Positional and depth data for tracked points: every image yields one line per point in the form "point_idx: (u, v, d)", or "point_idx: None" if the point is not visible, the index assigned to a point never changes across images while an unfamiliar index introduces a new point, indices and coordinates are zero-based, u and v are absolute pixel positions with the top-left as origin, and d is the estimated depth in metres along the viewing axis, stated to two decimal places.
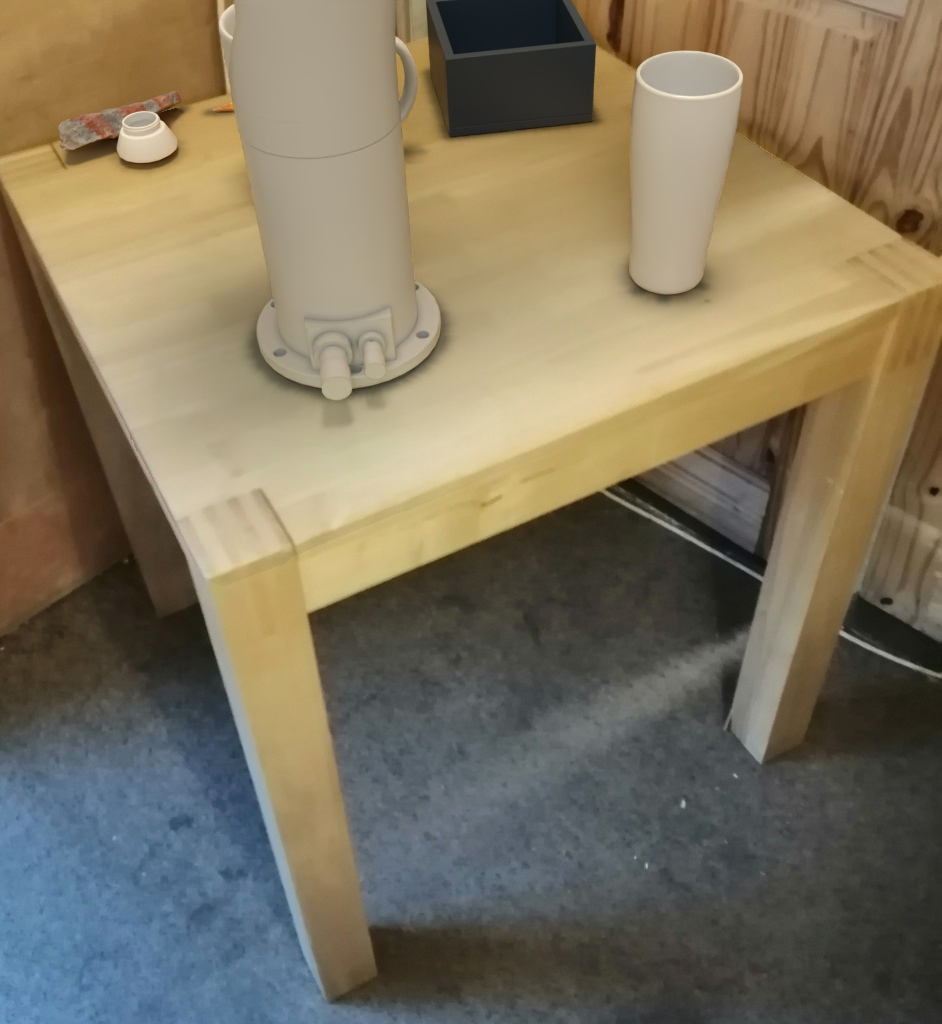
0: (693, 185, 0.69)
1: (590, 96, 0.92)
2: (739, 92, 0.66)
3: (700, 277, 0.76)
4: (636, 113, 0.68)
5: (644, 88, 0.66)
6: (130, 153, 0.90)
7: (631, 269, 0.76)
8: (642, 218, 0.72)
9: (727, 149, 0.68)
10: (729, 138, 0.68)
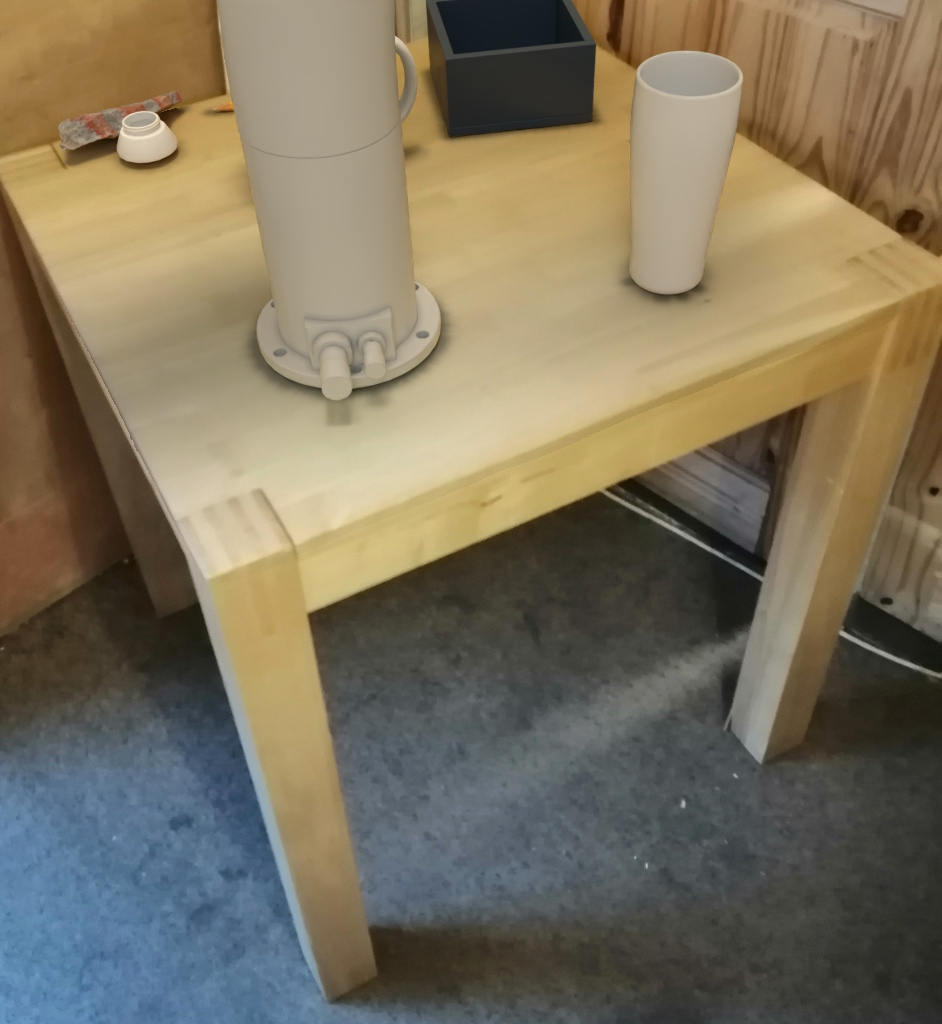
0: (693, 185, 0.69)
1: (590, 96, 0.92)
2: (739, 92, 0.66)
3: (700, 277, 0.76)
4: (636, 113, 0.68)
5: (644, 88, 0.66)
6: (130, 153, 0.90)
7: (631, 269, 0.76)
8: (642, 218, 0.72)
9: (727, 149, 0.68)
10: (729, 138, 0.68)
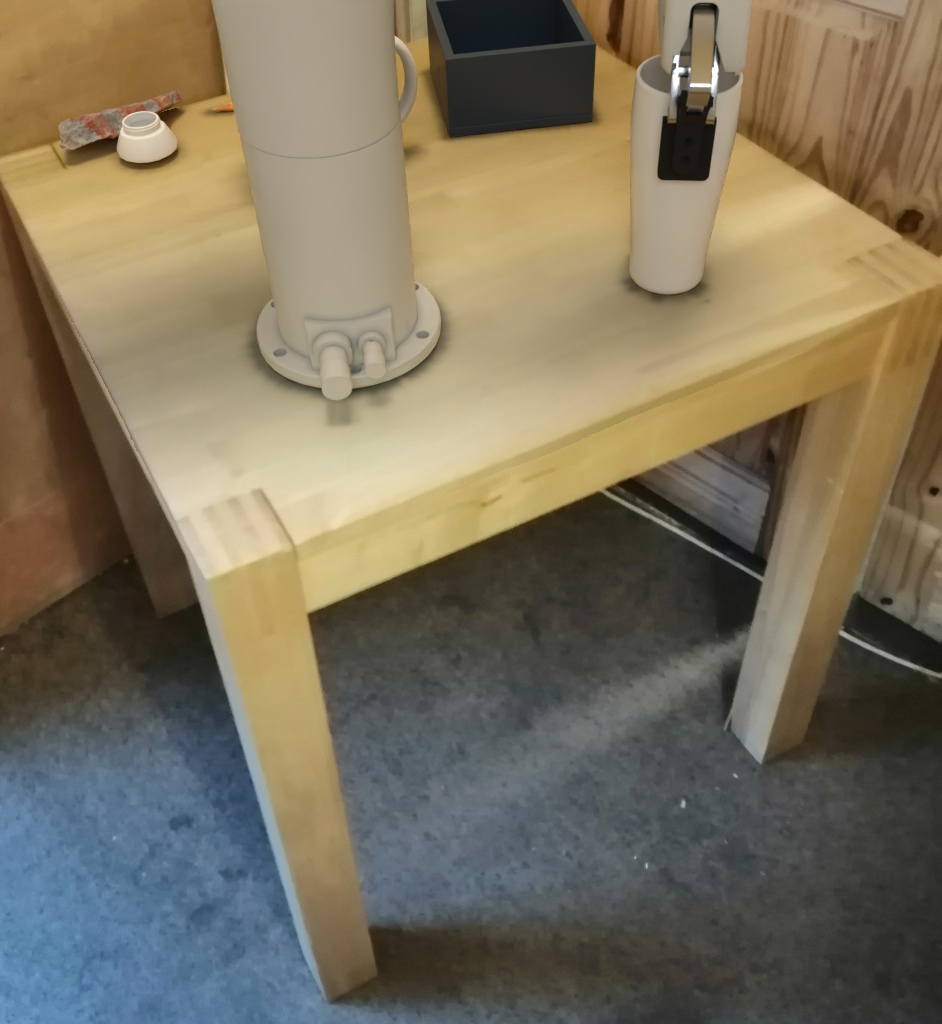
0: (692, 186, 0.69)
1: (590, 96, 0.92)
2: (739, 92, 0.66)
3: (700, 277, 0.76)
4: (636, 113, 0.68)
5: (644, 88, 0.66)
6: (130, 153, 0.90)
7: (631, 269, 0.76)
8: (642, 218, 0.72)
9: (727, 149, 0.68)
10: (729, 138, 0.68)
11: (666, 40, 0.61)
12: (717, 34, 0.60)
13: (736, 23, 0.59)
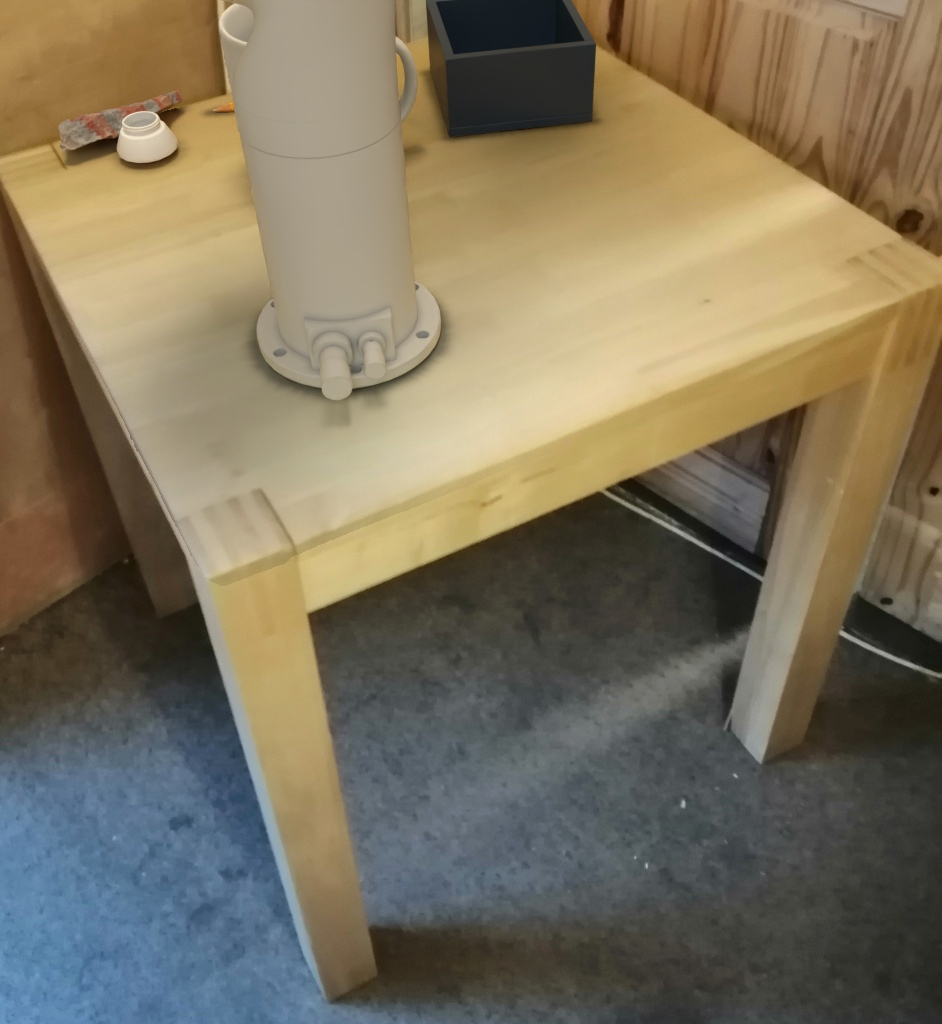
0: None
1: (590, 96, 0.92)
2: None
3: None
4: None
5: None
6: (130, 153, 0.90)
7: None
8: None
9: None
10: None
11: None
12: None
13: None
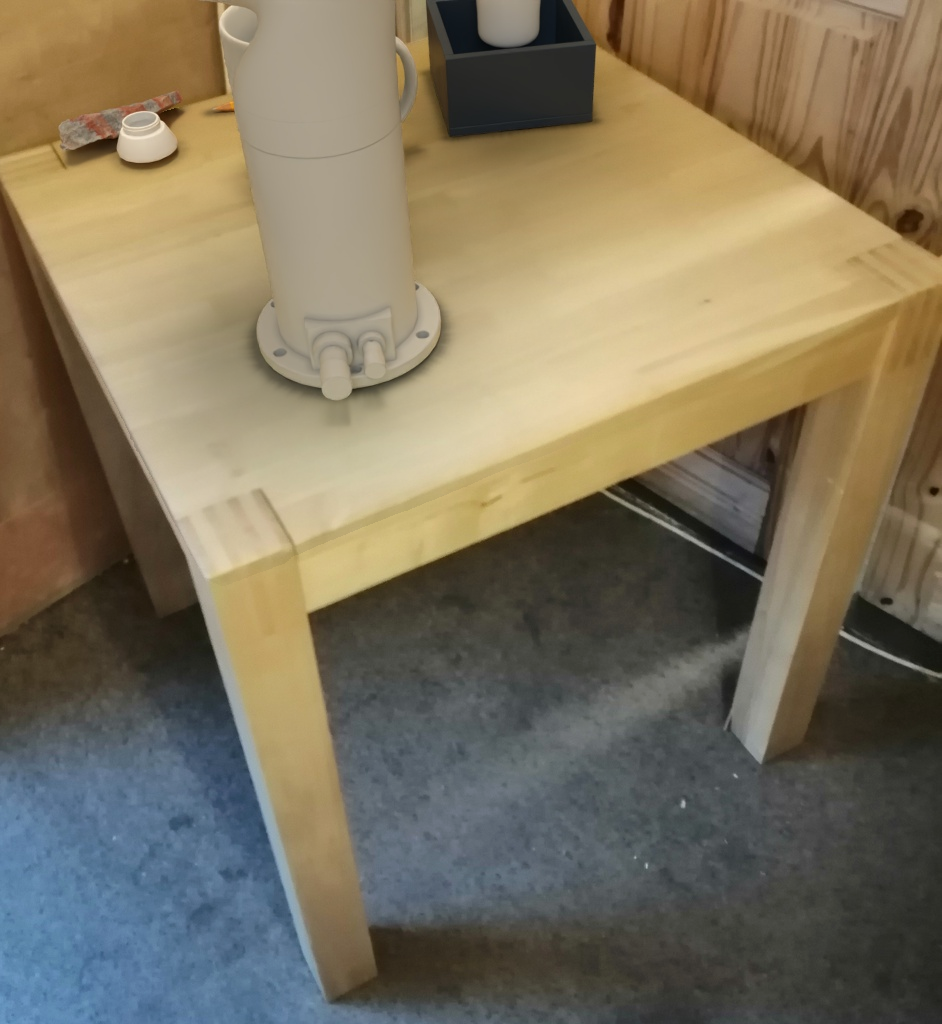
0: None
1: (590, 96, 0.92)
2: None
3: (534, 33, 0.92)
4: None
5: None
6: (130, 153, 0.90)
7: (478, 28, 0.92)
8: None
9: None
10: None
11: None
12: None
13: None
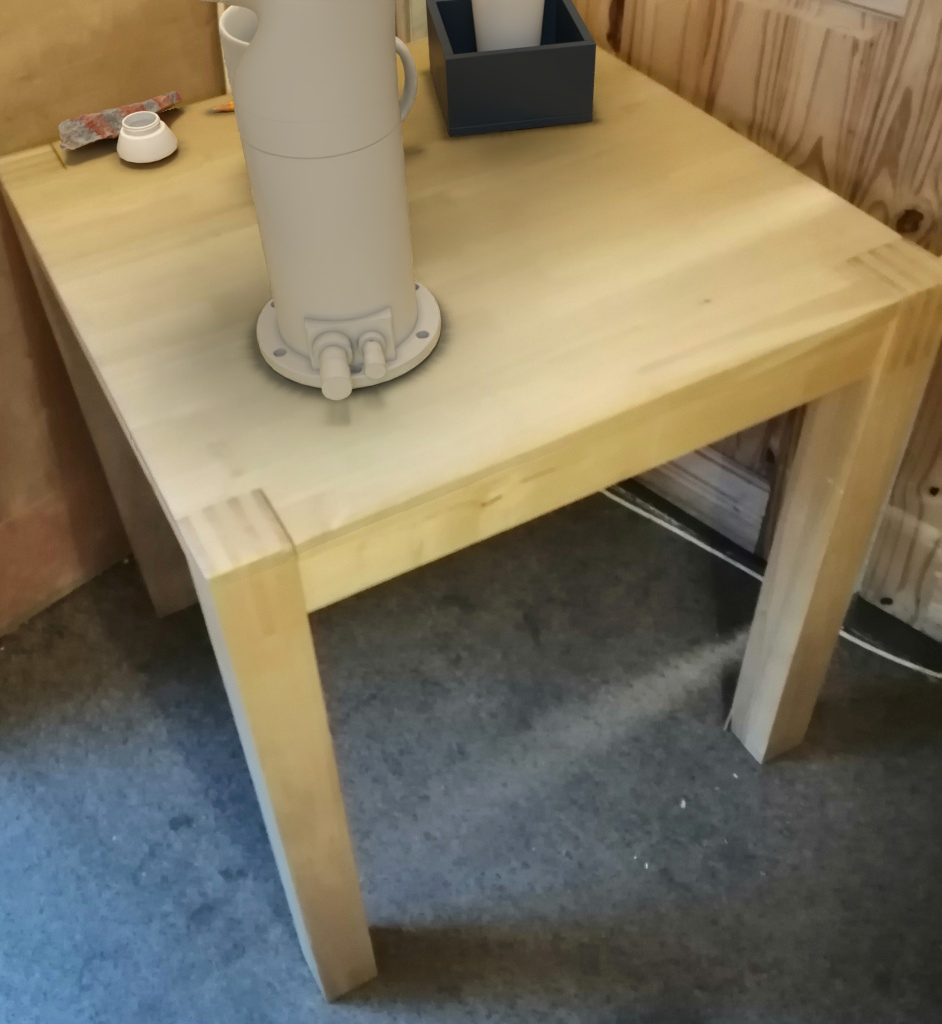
0: None
1: (590, 96, 0.92)
2: None
3: None
4: None
5: None
6: (130, 153, 0.90)
7: None
8: (480, 30, 0.91)
9: None
10: None
11: None
12: None
13: None
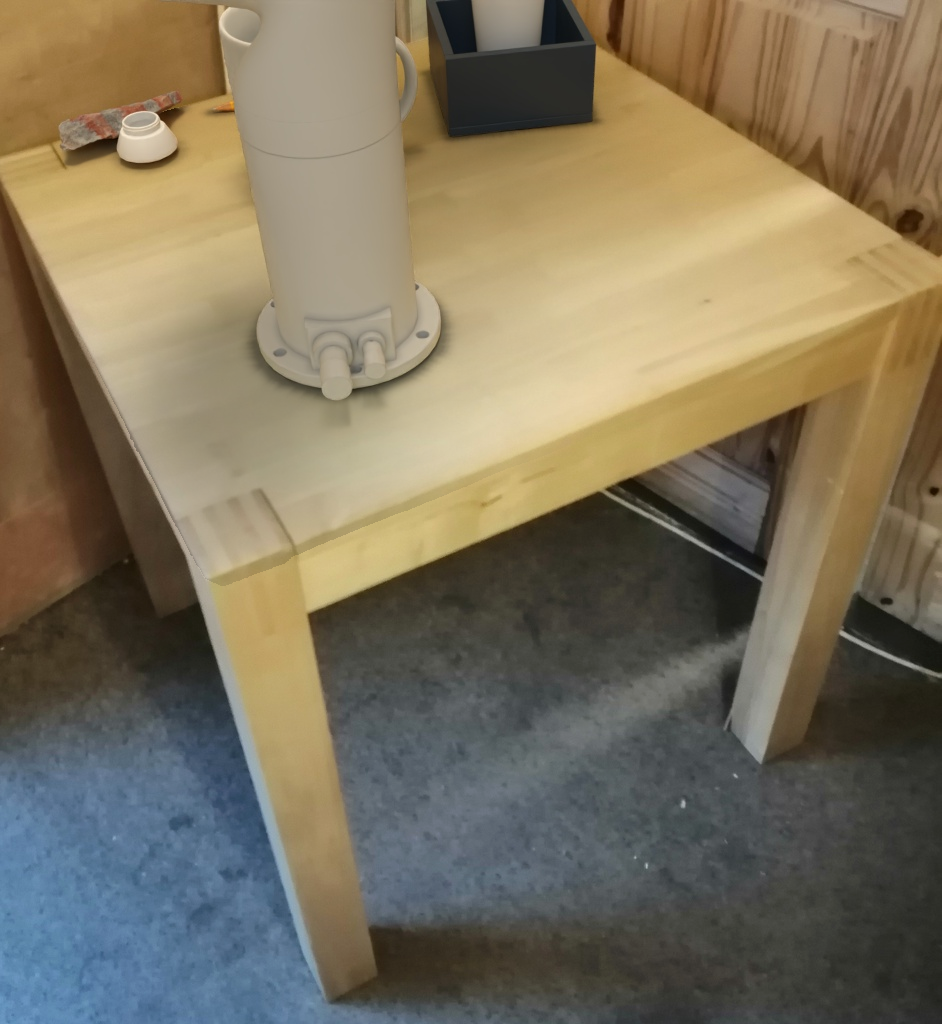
0: None
1: (590, 96, 0.92)
2: None
3: None
4: None
5: None
6: (130, 153, 0.90)
7: None
8: (480, 31, 0.91)
9: None
10: None
11: None
12: None
13: None
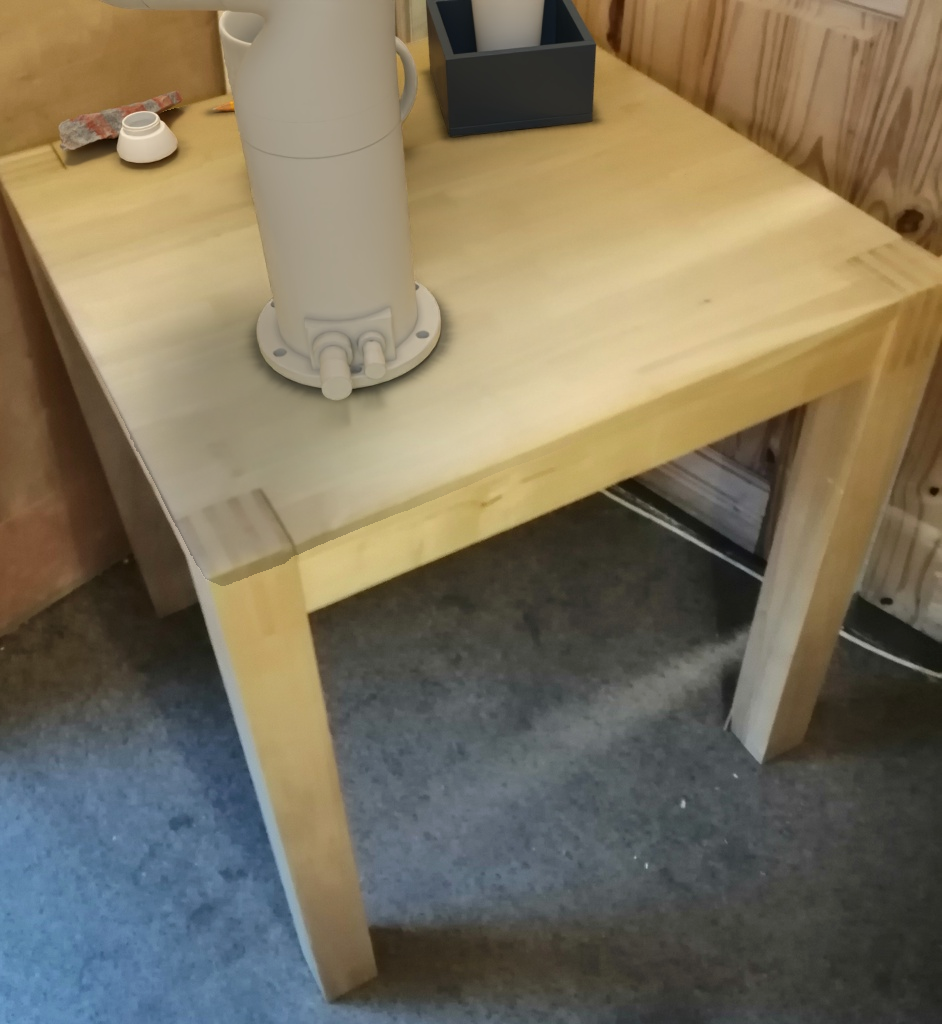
0: None
1: (590, 96, 0.92)
2: None
3: None
4: None
5: None
6: (130, 153, 0.90)
7: None
8: (480, 31, 0.91)
9: None
10: None
11: None
12: None
13: None
